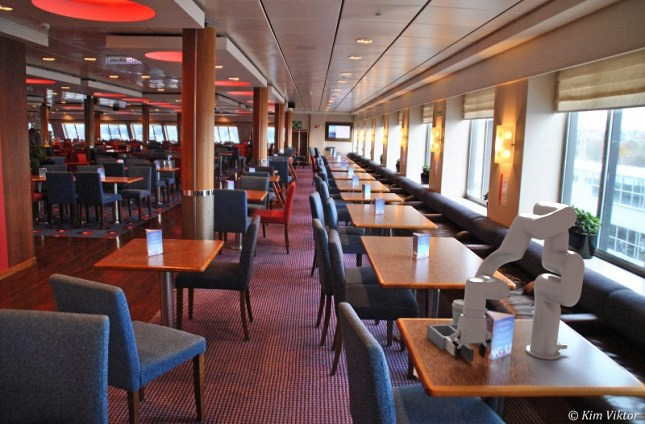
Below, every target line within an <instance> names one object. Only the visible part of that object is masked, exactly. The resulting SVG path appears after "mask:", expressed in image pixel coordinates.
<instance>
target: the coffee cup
mask: <svg viewBox="0 0 645 424" xmlns="http://www.w3.org/2000/svg"><path fill="white" fill-rule="evenodd" d="M451 306H452V324H458V322H459V318H460V315H461V314H463V308H464V299H454V300H453V302H452V303H451Z"/></svg>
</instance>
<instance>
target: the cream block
mask: <svg viewBox="0 0 645 424" xmlns="http://www.w3.org/2000/svg"><path fill="white" fill-rule="evenodd" d="M444 337H445V338H446V343H445V351H447V352H448V353H449V354H450V355H451V356H454V357H456V356H455V346H454V344H453V343H452V342H451V340H450V337H449V336H444ZM457 340H458V339H457V338H455V341H457ZM461 349H462V351H461V357H463V358H464V359H465V360H467V362H470V363H471V362H474V355H475V349H474V348H473V347H471V346H470V345H469V343H464V344H463V345H462V346H461Z"/></svg>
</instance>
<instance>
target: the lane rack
mask: <svg viewBox="0 0 645 424" xmlns="http://www.w3.org/2000/svg"><path fill="white" fill-rule="evenodd" d="M457 326H458V324H453V323H449V324H448V323H447V324H445V323H444V324H428V325H427V328H426V338H428V339H429V340H430V341H431V342H432V343H433V344H434V345H435V346H437V348H439V349H440V350H441V351H446V349H445V343H446V338H445V337H444V336H450V335H452V334H453V333H455V332H457ZM474 344H475V345H476V346H477V347H479V345H480V344H481V343H474Z"/></svg>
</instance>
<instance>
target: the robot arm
mask: <svg viewBox="0 0 645 424" xmlns="http://www.w3.org/2000/svg"><path fill="white" fill-rule="evenodd" d="M577 218H578V214H577V211H576V210H575V208H574V207H573V206H570V205H567V204H563V203H562V204H561V203H557V202H553V201H545V200H544V201H543V200H541V201H537V202H536V203H535V204H534V206H533V207H532V213H528V212H527V213H526V212H523V213H519V214H517V215H516V216H515V217H514V219H513V221H512V223H511V224H510V227H509V229H508V230H507V233H506V234H505V236H504V238H503V240H502V243H501V245H500V247H498V249H496V250H495V251H493V252H492V253H490V254H489V255H488V256H487V257H486V258H484V260H482V262H481V263H480V264H479V267H478V269H477V271H476V273H475V275H474V277H469V278H466V280H465V287H464V298H463V300H464V308H463V314H461V315H460V318H459V322H458V326H457V332H455V333H453V334H452V335H450V336H449V337H450V340H451V342H452V343H453V344H454V346H455V356H454V357H456V358H457V359H458V360H461V359H462V355H461V351H462V349H461V346H462V345H463V344H464V343H468V344H475V343H481V344H480V345H479V346H478V355H479V356H480V357H482V358H486V352H487V347H488V345H490V343H491V342H492V340H493V338H494V334H493V333H492V332H490V331H488V327H487V316H486V313H488V310H489V309H488V307H487V308H486V304H487V303H486V302H487V300H495V301H500V300H501V301H502V300H504V299H506V298H508V296H509V294H510V291H511V289H510V288H511V287H510V286H509V284H508V283H507V281H505V280H503V279H501V278H499V277H496V276H494V275H495V274H496V271H497V270H498V269H499V268H500V267H501V266H503V265H505V264H507V263H510V262H515V261H519V260H521V259H522V258H523V256H524V255H525V253H526V250H527V249H528V246H529V245H530V243H531V241H532V239H534V240H538V241H543V246H542V247H543V248H542V253H541V254H542V255H541V265H542V267H543V268H544V269H545V270H546V271H549V272H551V273H555V274H557V275H555V274H551V273H541V274H539V275H538V276H537V277H536V278H535V280H534V282H533V291H534V292H533V293H534V309H533V316H532V317H533V318H532V327H531V336H530V343H529V344H528V345H527V346H525V353H527V354H528V355H530V356H531V357H535V358H537V359H541V360H549V361H551V360H552V361H553V360H559V359H560V358H561V352H560V350H568V344H566V343H560V342H558V339H559V332H560V322H561V315H562V314H561V312H562V310H561V306H564V307H573V306H575V305H576V304H577V303H578V302H579V300H580V298H581V294H582V289H583V288H582V287H583V281H584V274H585V267H586V266H585V260H584V258H583V256H582V255H581V254H579V253H578V252H575V251H572V250H570V249H569V240H570V234H569V229H571V228H572V227H573V226H574V225H575V223H576V222H577ZM558 275H560V276H558ZM455 338H457V339H458V340H457V341H455Z"/></svg>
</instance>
